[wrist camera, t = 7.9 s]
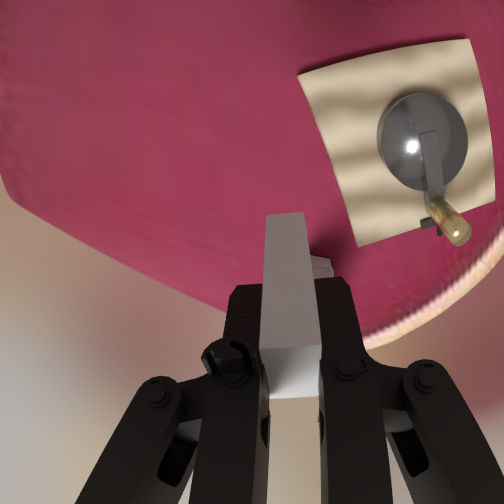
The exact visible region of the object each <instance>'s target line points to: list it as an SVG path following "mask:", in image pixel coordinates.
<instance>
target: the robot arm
mask: <svg viewBox="0 0 504 504" xmlns="http://www.w3.org/2000/svg"><path fill="white" fill-rule="evenodd" d="M201 360H202V362H203V364H204V366H205V368H206V370H207V372H208V373H207V374H205V375H203V376H201V377H198V378H195V379H191V380H187V381H184V382H179V383H177V382H176V381H175V380H173V379H172V378H169V377H166V376H157V377H153V378H151V379H149V380H147V381H146V382H144V383H143V384H142V386H141V387H140V388H139V389H138V391H137V392H136V394H135V396H134V398H133V399H132V401H131V403H130V405H129V406H128V408H127V410H126V411H125V413H124V415H123V417H122V419H121V420H120V422H119V424H118V426H117V427H116V429H115V431H114V433H113V435H112V436H111V438H110V440H109V442H108V443H107V445H106V447H105V449H104V451H103V452H102V454H101V456H100V458H99V460H98V461H97V463H96V465H95V467H94V469H93V470H92V473H91V474H90V476H89V478H88V480H87V482H86V484H85V485H84V487H83V489H82V491H81V493H80V495H79V497H78V499H77V500H76V502H75V504H178V502H179V500H180V498H181V496H182V494H183V491H184V489H185V487H186V485H187V482H188V480H189V478H190V476H191V473H192V471H193V469H194V471H193V478H192V484H191V491H190V497H189V504H266V503H267V484H268V483H267V482H268V465H269V463H268V462H269V442H270V417H271V415H270V410H269V395H270V398H272V399H275V398H295V397H310V396H319V416H318V422H319V428H320V456H321V504H393V496H392V486H391V476H390V466H389V457H388V449H387V442H386V437H387V439H388V442H389V444H390V446H391V449H392V451H393V453H394V456H395V458H396V460H397V463H398V465H399V468H400V470H401V473H402V475H403V477H404V480H405V482H406V485H407V487H408V490H409V492H410V495H411V497H412V500H413V502H414V504H504V476H503V474H502V471H501V469H500V467H499V465H498V463H497V461H496V459H495V456H494V454H493V453H492V450H491V448H490V446H489V445H488V443H487V440H486V439H485V437H484V435H483V433H482V431H481V429H480V427H479V425H478V423H477V422H476V420H475V418H474V416H473V414H472V413H471V411H470V409H469V407H468V405H467V404H466V402H465V400H464V399H463V397H462V395H461V393H460V392H459V390H458V388H457V387H456V385H455V384H454V382H453V380H452V379H451V377H450V375H449V374H448V372H447V370H445V368H444V367H443V366H442V365H441V364H439V363H437V362H435V361H433V360H427V359H423V360H418V361H415V362H414V363H412V364H411V365H409V366H408V368H399V367H392V366H387V365H383V364H380V363H378V362H376V361H375V360H373V359H372V358H371V357H370V356H369V355H368V353H367V352H366V350H365V347H364V344H363V339H362V335H361V331H360V326H359V322H358V318H357V313H356V310H355V305H354V301H353V297H352V293H351V289H350V286H349V285H348V284H347V283H346V281H345V280H344V279H343V278H342V277H341V276H339V277H328V278H316V279H314V278H313V271H312V264H311V258H310V251H309V244H308V238H307V232H306V226H305V220H304V214H303V212H296V213H285V214H274V215H267V217H266V236H265V255H264V273H263V284H249V285H237V287H236V288H235V289H234V291H233V292H232V294H231V295H230V297H229V303H228V310H227V315H226V321H225V327H224V333H223V338H220V339H219V340H216V341H215V342H212V343H211V344H210V345H209V346H208V347H207V348H206V349H205V350H204V352H203V354H202V356H201Z"/></svg>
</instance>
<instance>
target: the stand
mask: <svg viewBox="0 0 504 504" xmlns="http://www.w3.org/2000/svg"><path fill="white" fill-rule="evenodd" d="M297 78H298V80H299V82H300V85H301V87H302V89H303V92H304V94H305V96H306V99H307V101H308V104H309V106H310V109H311V111H312V114H313V116H314V119H315V121H316V124H317V126H318V129H319V131H320V134H321V137H322V139H323V142H324V145H325V148H326V150H327V153H328V156H329V159H330V162H331V164H332V167H333V170H334V173H335V176H336V179H337V182H338V185H339V188H340V191H341V194H342V198H343V201H344V204H345V207H346V210H347V214H348V217H349V220H350V224H351V227H352V231H353V234H354V238H355V241H356V244H357V246H358V247H361V246H364V245H368V244H371V243H374V242H377V241H380V240H383V239H386V238H389V237H392V236H395V235H398V234H401V233H404V232H407V231H410V230H413V229H415V228H418V227H421V228H422V230H423V229H426V228H429V227H432V226H435V225H437V224H436V223H435V221H434V220H433V219H432V218H431V217H430V216H429V215H428V214H427V212H426V209H425V199H424V191H418V190H414V189H411V188H409V187H407V186H405V185H403V184H402V183H401V182H399V181H398V180H397V179H396V178H395V177H394V176H393V175H392V173H391V172H390V171H389V170H388V169H387V168H386V167H385V165H384V163H383V162H382V159H381V157H380V155H379V151H378V147H377V129H378V124H379V121H380V118H381V116H382V114H383V112H384V111H385V109H386V108H387V107H388V106H389V104H390V103H391V102H393V101H394V100H395V99H396V98H398V97H400V96H402V95H404V94H407V93H412V92H423V93H428V94H432V95H436V96H438V97H441V98H443V99H445V100H447V101H448V102H449V103H451V104H452V105H453V106H454V107H455V108H456V109H457V111H458V112H459V113H460V115H461V117H462V119H463V121H464V123H465V126H466V129H467V134H468V150H467V155H466V159H465V162H464V164H463V166H462V168H461V170H460V171H459V173H458V174H457V175H456V177H455V178H454V179H453V180H452V181H451V182H449V183H448V184H447V185H445V186H444V194H445V200H446V201H447V202H448V203H449V204H450V205H451V206H452V207H453V208H454V209H455V210H456V211H457V212H458V213H461V212H464V211H467V210H470V209H473V208H475V207H478V206H481V205H484V204H486V203H489V202H492V201H495V179H494V163H493V151H492V142H491V134H490V127H489V120H488V114H487V108H486V103H485V98H484V93H483V88H482V84H481V79H480V75H479V71H478V68H477V64H476V60H475V57H474V53H473V50H472V47H471V44H470V41H469V39H458V40H448V41H440V42H433V43H426V44H419V45H413V46H408V47H402V48H397V49H392V50H387V51H383V52H378V53H374V54H369V55H365V56H361V57H357V58H353V59H350V60H346V61H342V62H339V63H335V64H332V65H328V66H325V67H322V68H319V69H315V70H312V71H309V72H306V73H303V74H300V75H297Z"/></svg>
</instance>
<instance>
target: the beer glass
mask: <svg viewBox="0 0 504 504" xmlns="http://www.w3.org/2000/svg"><path fill="white" fill-rule="evenodd" d="M364 1H366V2H368V3H370V4H374V5H386V4H389V3H390V2H392V1H393V0H364Z"/></svg>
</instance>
